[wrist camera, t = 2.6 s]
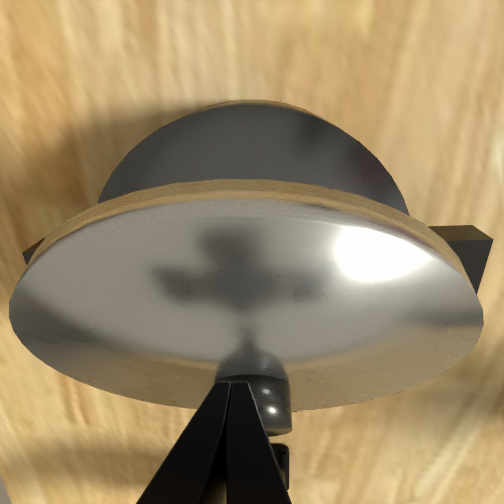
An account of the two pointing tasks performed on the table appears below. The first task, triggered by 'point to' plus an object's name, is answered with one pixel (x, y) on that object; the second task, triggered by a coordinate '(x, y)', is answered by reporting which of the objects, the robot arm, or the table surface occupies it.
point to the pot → (272, 163)
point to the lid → (247, 297)
